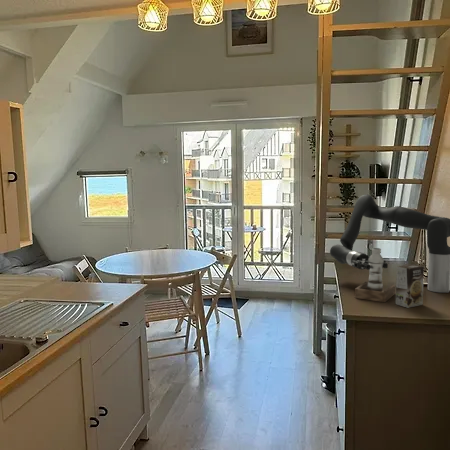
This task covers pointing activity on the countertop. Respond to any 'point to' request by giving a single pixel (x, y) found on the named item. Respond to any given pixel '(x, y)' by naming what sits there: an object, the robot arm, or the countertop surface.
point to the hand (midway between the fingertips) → (378, 266)
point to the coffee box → (409, 285)
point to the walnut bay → (374, 293)
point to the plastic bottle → (375, 270)
